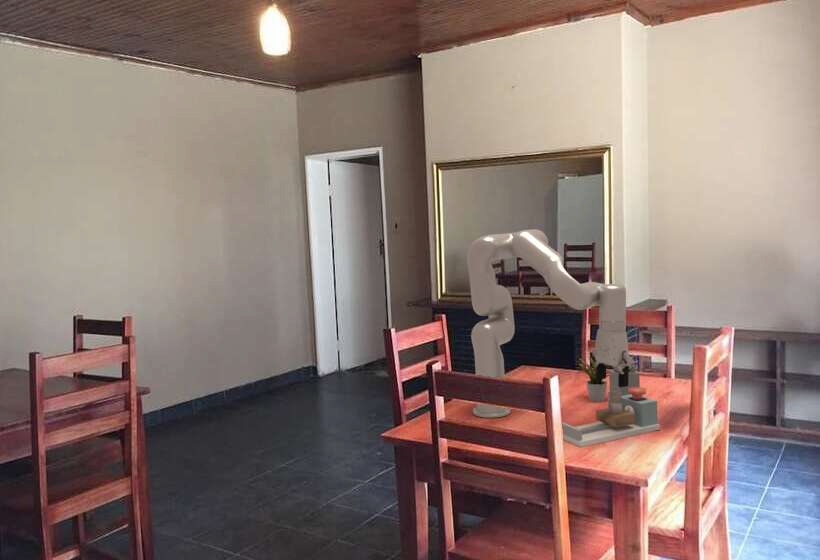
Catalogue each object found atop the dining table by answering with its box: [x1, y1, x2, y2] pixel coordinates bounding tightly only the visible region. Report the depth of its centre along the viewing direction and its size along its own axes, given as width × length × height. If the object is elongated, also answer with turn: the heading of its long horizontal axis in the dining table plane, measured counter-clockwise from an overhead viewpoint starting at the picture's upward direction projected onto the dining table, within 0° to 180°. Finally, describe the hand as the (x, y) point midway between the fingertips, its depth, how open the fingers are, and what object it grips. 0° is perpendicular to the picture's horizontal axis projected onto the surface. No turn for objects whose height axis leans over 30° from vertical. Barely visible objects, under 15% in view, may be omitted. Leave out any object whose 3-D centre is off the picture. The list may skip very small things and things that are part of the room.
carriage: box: [595, 391, 635, 428], centre depth 203 cm, size 9×7×9 cm
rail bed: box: [562, 421, 661, 448], centre depth 202 cm, size 12×29×4 cm, turn 114°
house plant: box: [578, 354, 609, 403], centre depth 237 cm, size 14×14×16 cm
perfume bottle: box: [608, 364, 641, 396], centre depth 220 cm, size 7×7×18 cm
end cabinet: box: [622, 394, 659, 427], centre depth 206 cm, size 10×6×7 cm, turn 24°
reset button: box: [628, 386, 647, 400], centre depth 206 cm, size 5×5×3 cm
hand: (612, 382), depth 202 cm, fingers open, 9 cm apart
